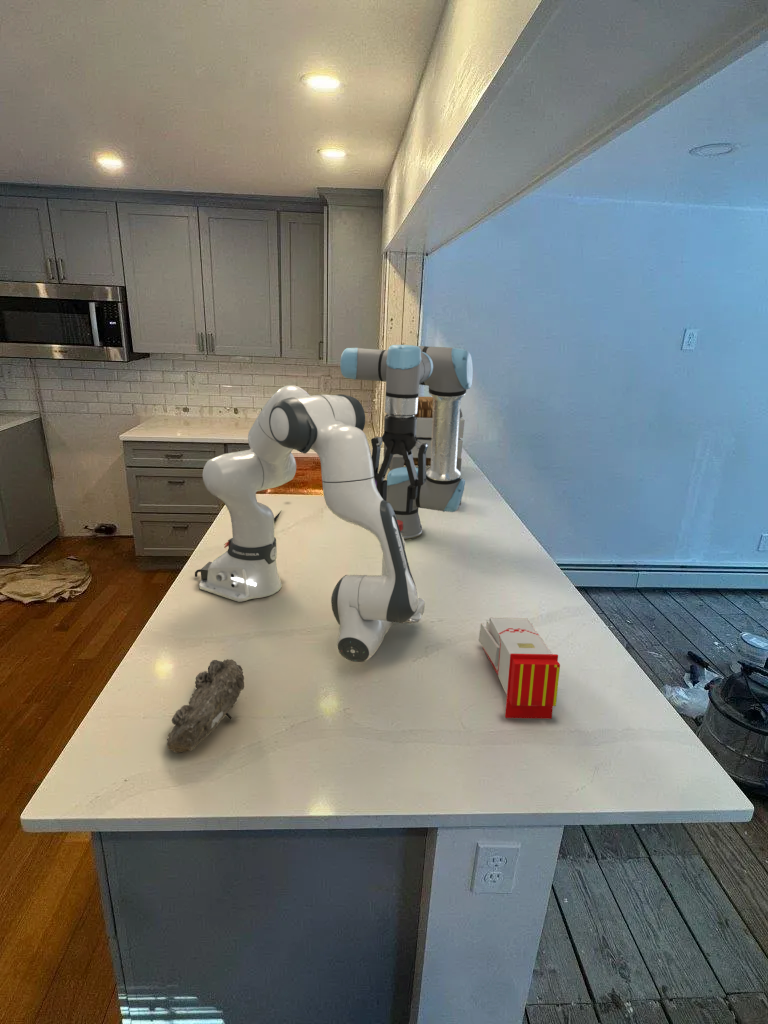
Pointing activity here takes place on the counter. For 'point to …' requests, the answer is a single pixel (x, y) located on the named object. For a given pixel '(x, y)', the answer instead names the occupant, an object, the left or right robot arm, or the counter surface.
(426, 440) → the grey slatted box
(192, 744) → the fossil
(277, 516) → the feather
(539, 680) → the toy
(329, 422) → the left robot arm
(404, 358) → the right robot arm
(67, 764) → the counter surface
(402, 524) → the cap
